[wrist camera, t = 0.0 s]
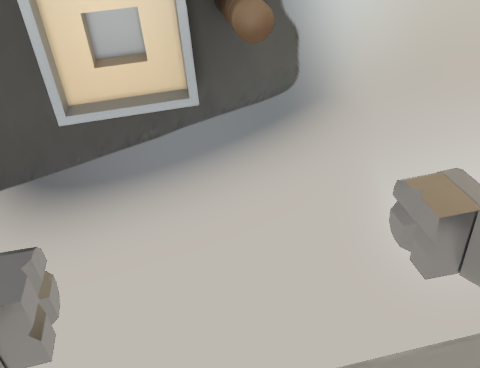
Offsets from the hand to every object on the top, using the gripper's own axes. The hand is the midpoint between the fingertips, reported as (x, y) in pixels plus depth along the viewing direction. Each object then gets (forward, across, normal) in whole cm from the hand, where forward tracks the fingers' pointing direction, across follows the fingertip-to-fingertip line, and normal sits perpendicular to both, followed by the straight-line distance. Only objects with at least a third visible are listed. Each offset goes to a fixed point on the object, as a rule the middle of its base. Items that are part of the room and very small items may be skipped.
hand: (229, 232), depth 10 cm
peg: (+48, -9, +5) cm, 49 cm away
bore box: (+48, +5, +7) cm, 49 cm away
